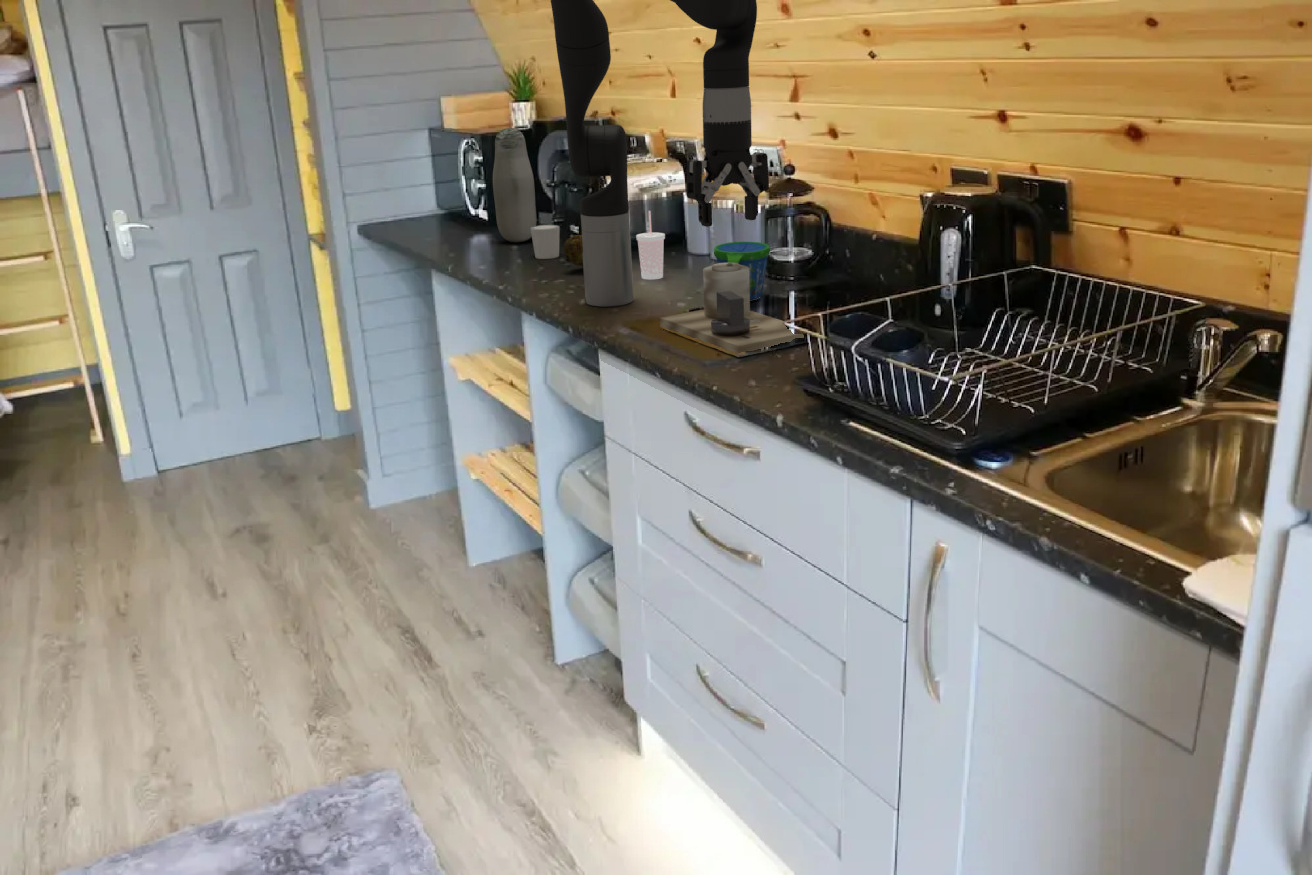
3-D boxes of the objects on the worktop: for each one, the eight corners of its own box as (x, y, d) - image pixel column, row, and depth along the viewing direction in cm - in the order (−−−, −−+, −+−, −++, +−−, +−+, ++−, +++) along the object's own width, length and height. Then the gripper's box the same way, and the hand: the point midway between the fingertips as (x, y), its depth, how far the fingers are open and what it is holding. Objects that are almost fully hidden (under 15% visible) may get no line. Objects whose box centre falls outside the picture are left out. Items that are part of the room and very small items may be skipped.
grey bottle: (493, 241, 286) (483, 128, 276) (531, 236, 290) (522, 125, 280) (505, 247, 277) (494, 131, 268) (543, 242, 281) (535, 128, 272)
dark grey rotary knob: (719, 337, 180) (718, 301, 178) (705, 328, 186) (704, 293, 184) (767, 331, 183) (766, 295, 181) (752, 322, 188) (751, 288, 186)
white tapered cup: (560, 258, 260) (557, 228, 258) (530, 259, 260) (528, 230, 258) (562, 253, 267) (560, 223, 264) (534, 254, 267) (532, 225, 264)
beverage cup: (663, 280, 233) (661, 213, 229) (635, 280, 235) (631, 213, 230) (669, 274, 239) (666, 208, 234) (641, 274, 240) (638, 208, 235)
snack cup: (754, 310, 206) (754, 255, 202) (702, 306, 210) (700, 253, 207) (781, 291, 219) (781, 240, 216) (731, 288, 223) (730, 238, 220)
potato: (626, 269, 246) (624, 233, 243) (570, 276, 241) (567, 239, 239) (613, 263, 253) (611, 227, 250) (559, 269, 249) (556, 233, 246)
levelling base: (660, 328, 196) (657, 266, 192) (730, 315, 203) (729, 254, 199) (738, 358, 177) (737, 289, 173) (813, 342, 184) (813, 275, 180)
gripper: (701, 122, 166) (704, 231, 172) (778, 115, 173) (778, 220, 178) (675, 120, 172) (678, 225, 178) (750, 113, 179) (751, 214, 185)
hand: (728, 222), depth 178 cm, fingers open, 8 cm apart
